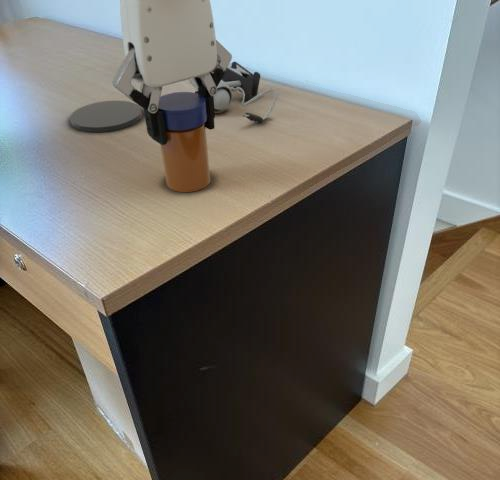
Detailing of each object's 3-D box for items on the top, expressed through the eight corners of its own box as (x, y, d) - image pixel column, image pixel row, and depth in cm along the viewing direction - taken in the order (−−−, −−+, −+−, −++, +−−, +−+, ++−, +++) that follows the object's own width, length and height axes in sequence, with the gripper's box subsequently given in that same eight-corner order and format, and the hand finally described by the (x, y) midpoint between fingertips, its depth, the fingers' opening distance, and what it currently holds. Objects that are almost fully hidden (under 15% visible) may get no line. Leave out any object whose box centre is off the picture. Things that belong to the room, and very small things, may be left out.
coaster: (89, 138, 82) (88, 133, 81) (60, 117, 89) (58, 112, 88) (154, 118, 87) (154, 113, 86) (121, 100, 94) (120, 95, 93)
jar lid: (172, 134, 61) (169, 115, 59) (148, 118, 65) (144, 100, 63) (216, 121, 63) (215, 102, 62) (191, 106, 67) (189, 88, 66)
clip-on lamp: (288, 132, 88) (236, 80, 96) (297, 96, 83) (241, 45, 91) (230, 143, 83) (179, 87, 91) (235, 106, 78) (182, 50, 86)
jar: (182, 197, 67) (171, 120, 60) (158, 181, 70) (145, 106, 63) (219, 182, 69) (212, 106, 63) (194, 167, 73) (185, 94, 66)
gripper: (210, -52, 59) (222, 108, 71) (68, -31, 52) (108, 143, 64) (249, -45, 54) (254, 124, 67) (100, -21, 47) (136, 163, 60)
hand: (183, 132), depth 65 cm, fingers closed on jar lid, 6 cm apart
